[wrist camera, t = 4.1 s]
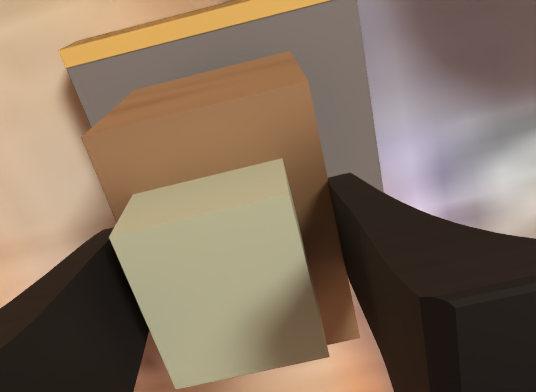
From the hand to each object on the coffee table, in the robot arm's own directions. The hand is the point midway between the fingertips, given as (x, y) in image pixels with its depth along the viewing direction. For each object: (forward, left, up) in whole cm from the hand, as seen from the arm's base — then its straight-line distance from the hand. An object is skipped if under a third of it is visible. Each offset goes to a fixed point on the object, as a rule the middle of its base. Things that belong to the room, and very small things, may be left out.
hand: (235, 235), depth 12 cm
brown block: (0, 0, -4) cm, 5 cm away
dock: (0, 0, -8) cm, 8 cm away
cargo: (0, 0, 0) cm, 1 cm away
